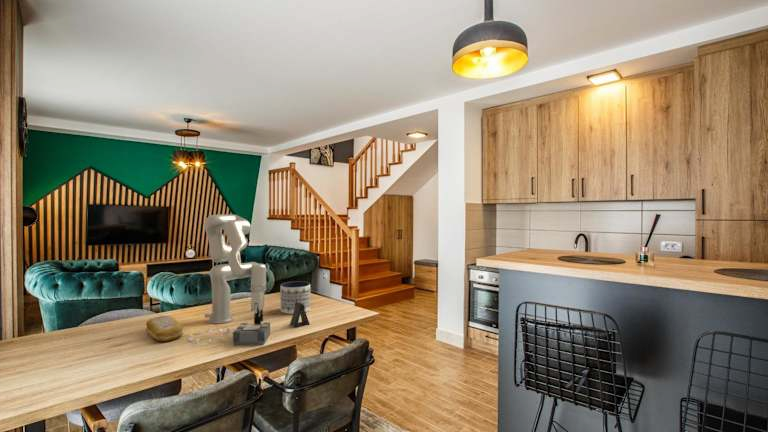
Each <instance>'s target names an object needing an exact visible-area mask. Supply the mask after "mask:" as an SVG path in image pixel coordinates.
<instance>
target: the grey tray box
mask: <svg viewBox="0 0 768 432" xmlns="http://www.w3.org/2000/svg"><path fill="white" fill-rule="evenodd" d="M236 327H237V328H240V327H244V328H243V330H242V331H259V329H260V328H261V327H267V325H263V323H261V324H254V323H248V324H247V325H244V326H240V325H237V326H236ZM237 328H236V329H237Z"/></svg>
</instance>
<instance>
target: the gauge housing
mask: <svg viewBox="0 0 768 432" xmlns="http://www.w3.org/2000/svg"><path fill="white" fill-rule="evenodd" d="M247 324H249V323H248V322H246V323H243V322H242V323H240V324H239V326H244V325H247ZM262 325H267V327H261V328H260V329H259V331H242V330H243V328H244V327H240V328H236V329H235V330H233V332H232V346H233V347H236V346H255V345H258V346H261V345H265V344H266V342H267V340H268V339H269V337H270V335H271V322H263V323H262Z"/></svg>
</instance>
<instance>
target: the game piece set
mask: <svg viewBox="0 0 768 432" xmlns="http://www.w3.org/2000/svg"><path fill="white" fill-rule="evenodd" d="M216 327H218V329H219V330H218V332H222V331H223V329H222V328H220V327H219V326H218V325H217V326H216ZM196 331H197V332H196ZM230 331H231V327H230V326H228V327H226V331H225V333H226V334H227V337H230V335H229V332H230ZM201 333H202V330H201V329H200V330H198V329H196V328H195V334H196V335H200V334H201ZM207 333H212V329H211V325H209V326H208V329H207ZM219 338H220V341H223V340H224V335H223V334H220V335H219ZM193 340H194V338H193V334H189V335H188V337H187V341H189V342H192V341H193ZM200 341H201V339H200V338H198V337H197V338H196V339H195V345H199V344H200ZM207 343H208V344H211V343H212V340H211V339H209V341H208V342H207Z"/></svg>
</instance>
